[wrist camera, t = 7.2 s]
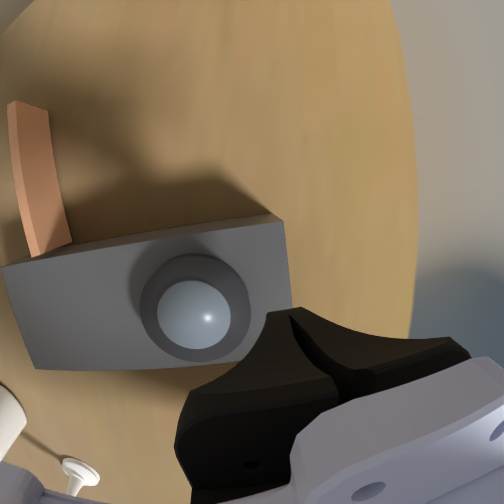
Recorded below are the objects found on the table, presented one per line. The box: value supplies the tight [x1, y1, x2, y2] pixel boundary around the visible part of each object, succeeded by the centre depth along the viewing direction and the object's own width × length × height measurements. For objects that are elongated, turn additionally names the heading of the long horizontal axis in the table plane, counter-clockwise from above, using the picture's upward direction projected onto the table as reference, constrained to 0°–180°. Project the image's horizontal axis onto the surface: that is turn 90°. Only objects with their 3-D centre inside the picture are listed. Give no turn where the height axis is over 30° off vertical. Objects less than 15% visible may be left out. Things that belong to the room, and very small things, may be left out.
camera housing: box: [1, 213, 293, 371], centre depth 17 cm, size 8×18×6 cm, turn 98°
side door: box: [7, 100, 72, 257], centre depth 16 cm, size 1×10×4 cm, turn 13°
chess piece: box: [62, 458, 100, 497], centre depth 20 cm, size 5×5×10 cm
